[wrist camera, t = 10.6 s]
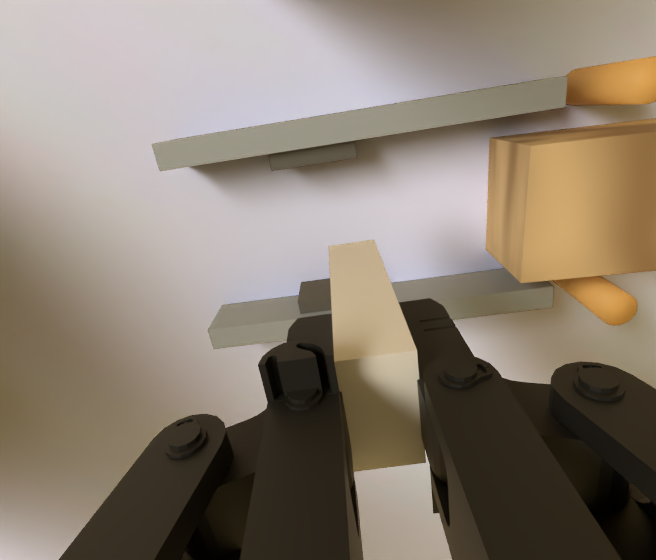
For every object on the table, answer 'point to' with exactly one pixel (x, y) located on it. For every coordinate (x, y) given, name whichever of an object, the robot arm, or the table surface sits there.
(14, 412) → the table surface
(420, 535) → the table surface
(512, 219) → the oak block
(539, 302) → the chute
